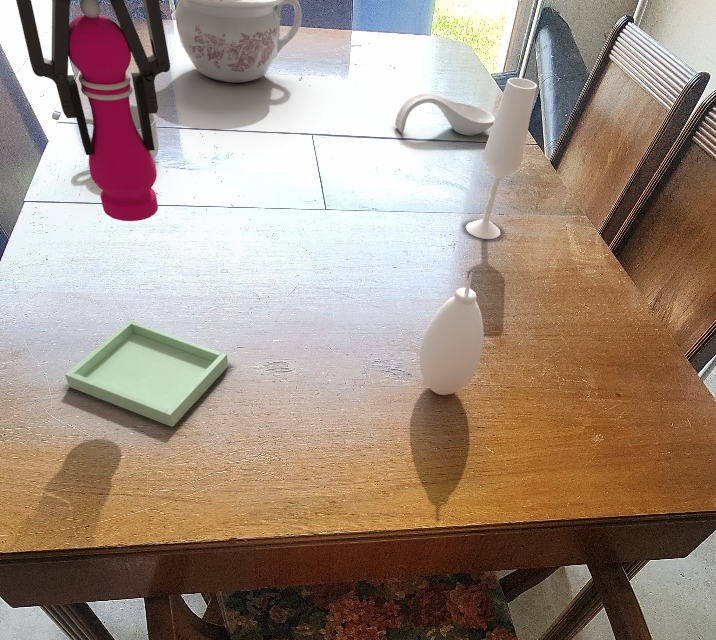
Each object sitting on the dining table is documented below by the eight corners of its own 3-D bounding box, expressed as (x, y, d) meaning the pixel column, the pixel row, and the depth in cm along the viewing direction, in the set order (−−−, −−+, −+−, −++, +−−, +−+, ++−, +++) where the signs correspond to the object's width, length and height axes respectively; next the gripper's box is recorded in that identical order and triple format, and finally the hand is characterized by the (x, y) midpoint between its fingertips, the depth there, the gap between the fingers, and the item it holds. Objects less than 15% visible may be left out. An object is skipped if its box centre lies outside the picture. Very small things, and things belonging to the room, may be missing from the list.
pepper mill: (104, 227, 69) (50, 6, 53) (94, 197, 73) (42, -17, 57) (168, 220, 71) (134, 6, 56) (155, 192, 75) (120, -16, 59)
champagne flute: (465, 235, 113) (501, 86, 94) (466, 218, 117) (501, 72, 98) (500, 241, 113) (544, 93, 94) (500, 224, 117) (541, 79, 98)
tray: (69, 387, 78) (64, 374, 77) (132, 331, 86) (129, 319, 85) (172, 427, 76) (170, 415, 74) (228, 366, 84) (227, 354, 82)
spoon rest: (480, 120, 149) (488, 86, 143) (499, 140, 142) (508, 106, 137) (389, 120, 143) (394, 85, 138) (405, 141, 137) (410, 105, 131)
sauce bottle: (451, 367, 88) (483, 251, 74) (478, 401, 84) (517, 285, 70) (404, 377, 86) (427, 259, 72) (429, 413, 82) (459, 295, 68)
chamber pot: (153, 75, 147) (136, -37, 130) (212, 47, 163) (204, -56, 147) (255, 103, 142) (251, -10, 126) (306, 72, 158) (308, -32, 142)
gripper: (-77, -167, 44) (30, 169, 62) (183, -147, 49) (211, 155, 68) (-77, -181, 48) (23, 139, 66) (163, -161, 54) (195, 128, 72)
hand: (118, 147), depth 67 cm, fingers closed on pepper mill, 6 cm apart
